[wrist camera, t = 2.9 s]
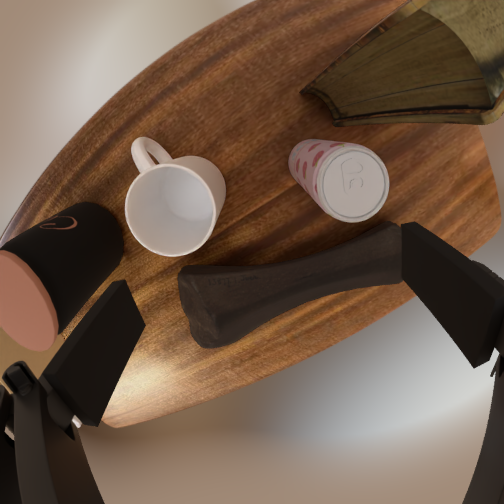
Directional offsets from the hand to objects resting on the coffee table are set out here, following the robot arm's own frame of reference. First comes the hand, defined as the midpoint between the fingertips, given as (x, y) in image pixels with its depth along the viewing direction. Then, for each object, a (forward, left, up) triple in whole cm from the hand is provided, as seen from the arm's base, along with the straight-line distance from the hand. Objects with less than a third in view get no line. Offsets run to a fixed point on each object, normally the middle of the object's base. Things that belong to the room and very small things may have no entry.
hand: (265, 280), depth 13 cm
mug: (-4, -8, -22) cm, 24 cm away
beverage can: (-2, +7, -22) cm, 23 cm away
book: (-12, +15, -22) cm, 30 cm away
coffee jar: (0, -23, -22) cm, 32 cm away
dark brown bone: (+10, +2, -22) cm, 25 cm away
